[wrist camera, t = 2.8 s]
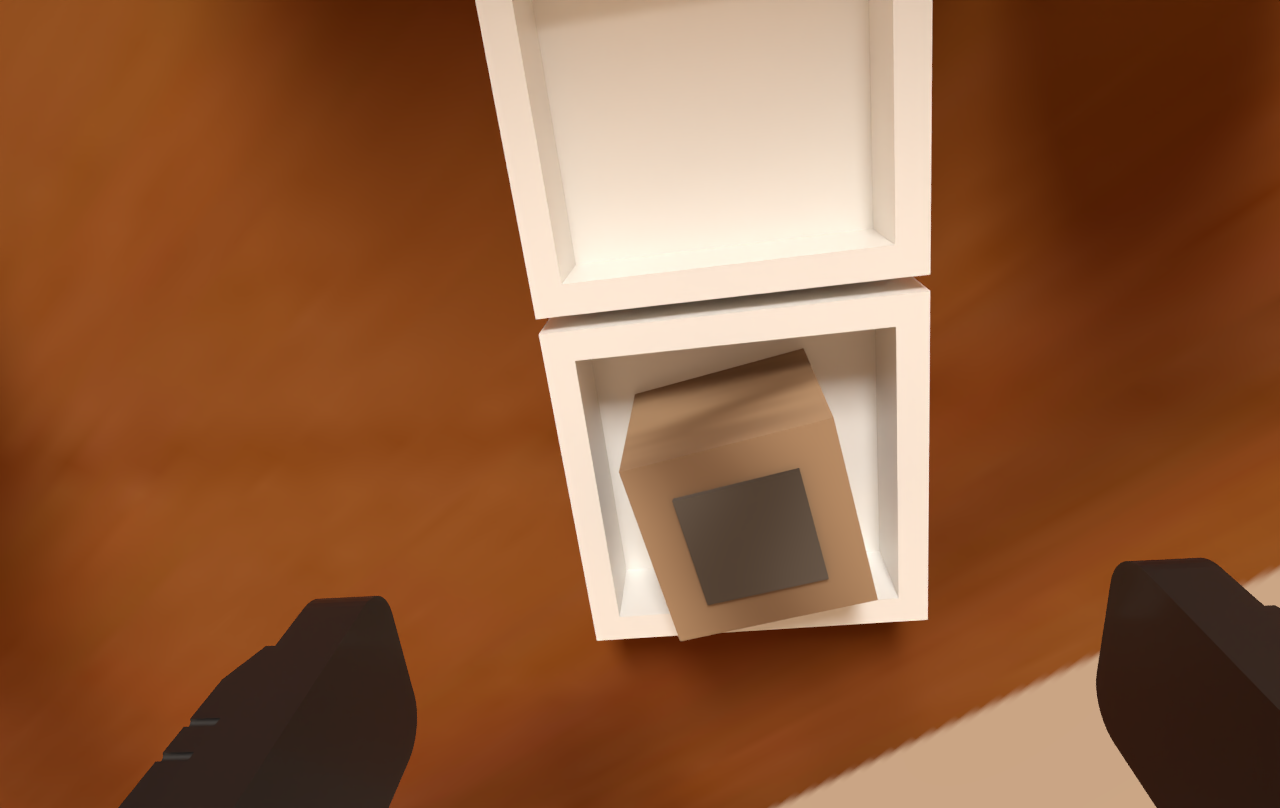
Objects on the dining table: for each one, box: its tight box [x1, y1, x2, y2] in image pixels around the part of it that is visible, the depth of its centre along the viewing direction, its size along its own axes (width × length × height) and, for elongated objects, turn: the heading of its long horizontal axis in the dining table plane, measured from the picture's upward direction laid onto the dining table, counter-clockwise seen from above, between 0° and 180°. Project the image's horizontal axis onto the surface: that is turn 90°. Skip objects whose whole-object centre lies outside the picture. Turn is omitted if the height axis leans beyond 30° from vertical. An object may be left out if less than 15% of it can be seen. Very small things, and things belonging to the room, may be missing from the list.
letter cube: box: [619, 348, 878, 641], centre depth 20 cm, size 5×5×5 cm
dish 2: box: [539, 277, 930, 641], centre depth 22 cm, size 10×10×3 cm
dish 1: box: [475, 0, 932, 319], centre depth 18 cm, size 10×10×3 cm
